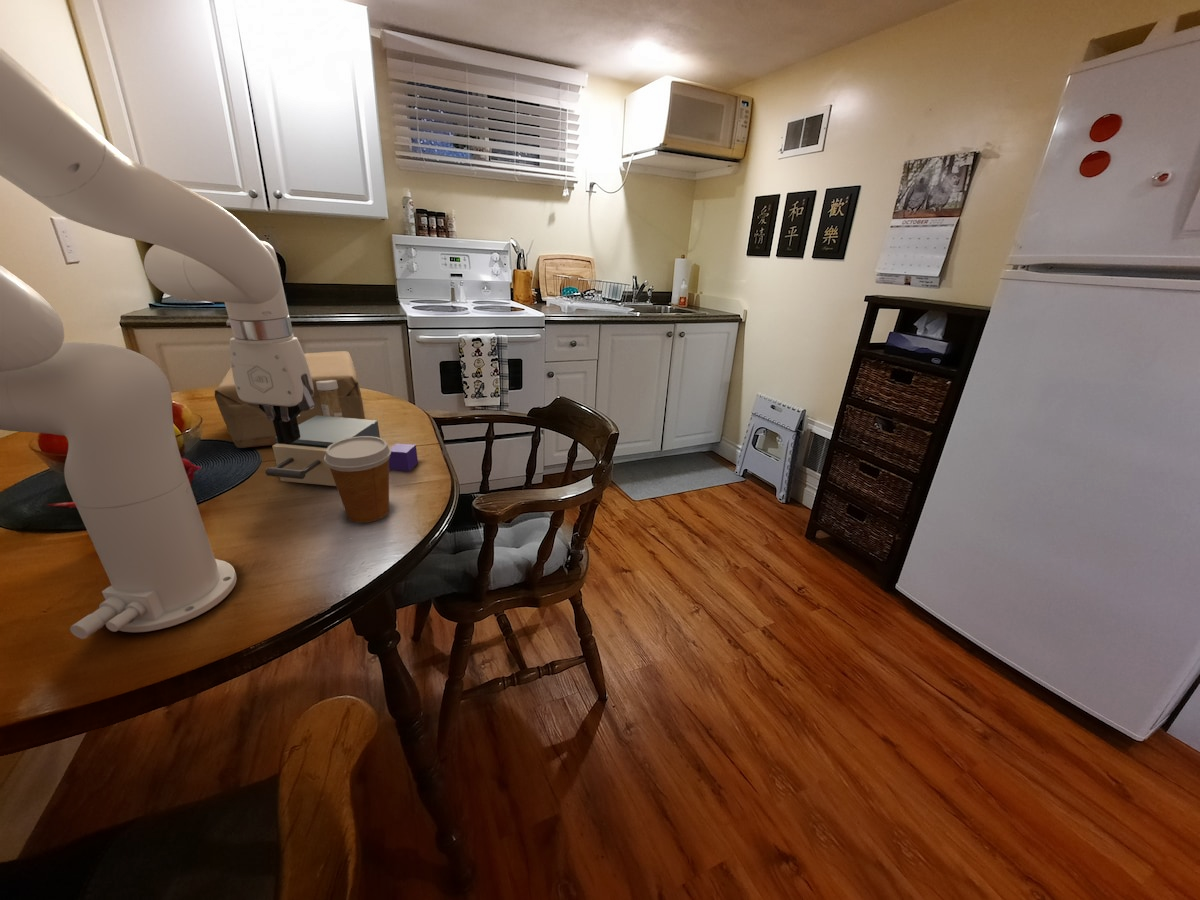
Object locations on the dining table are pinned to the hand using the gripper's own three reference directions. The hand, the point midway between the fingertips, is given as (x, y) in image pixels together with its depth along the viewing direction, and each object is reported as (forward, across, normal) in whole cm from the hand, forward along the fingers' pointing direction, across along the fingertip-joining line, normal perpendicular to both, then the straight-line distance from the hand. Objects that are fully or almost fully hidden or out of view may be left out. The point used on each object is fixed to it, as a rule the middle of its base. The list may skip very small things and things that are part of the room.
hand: (289, 440), depth 81 cm
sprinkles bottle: (+11, -9, +24) cm, 28 cm away
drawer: (+9, 0, +5) cm, 11 cm away
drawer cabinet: (+10, 0, +10) cm, 14 cm away
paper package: (+11, -21, +30) cm, 38 cm away
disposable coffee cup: (+10, +14, -4) cm, 18 cm away
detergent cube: (+10, +12, +14) cm, 21 cm away
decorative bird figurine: (+10, -16, -13) cm, 24 cm away
